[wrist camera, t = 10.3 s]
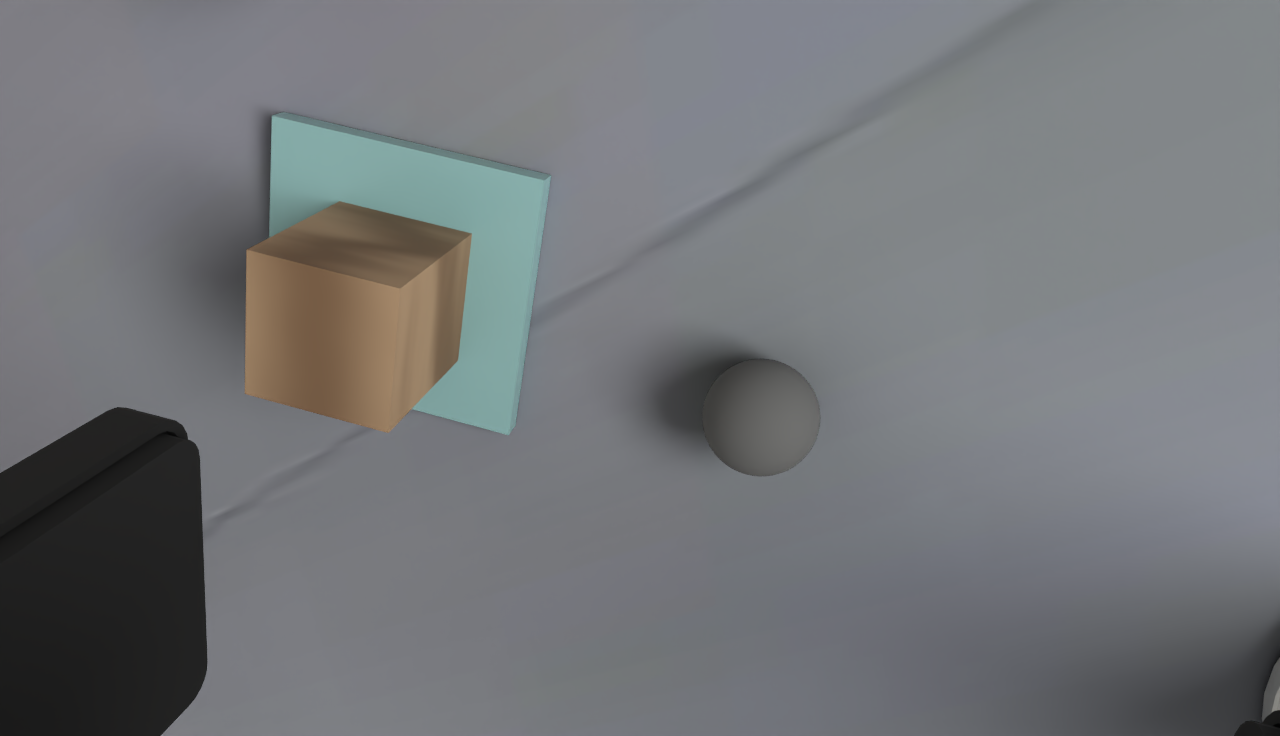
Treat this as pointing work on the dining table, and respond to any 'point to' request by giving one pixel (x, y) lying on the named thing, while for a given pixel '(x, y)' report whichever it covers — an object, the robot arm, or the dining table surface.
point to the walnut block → (354, 313)
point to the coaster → (446, 196)
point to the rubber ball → (761, 417)
